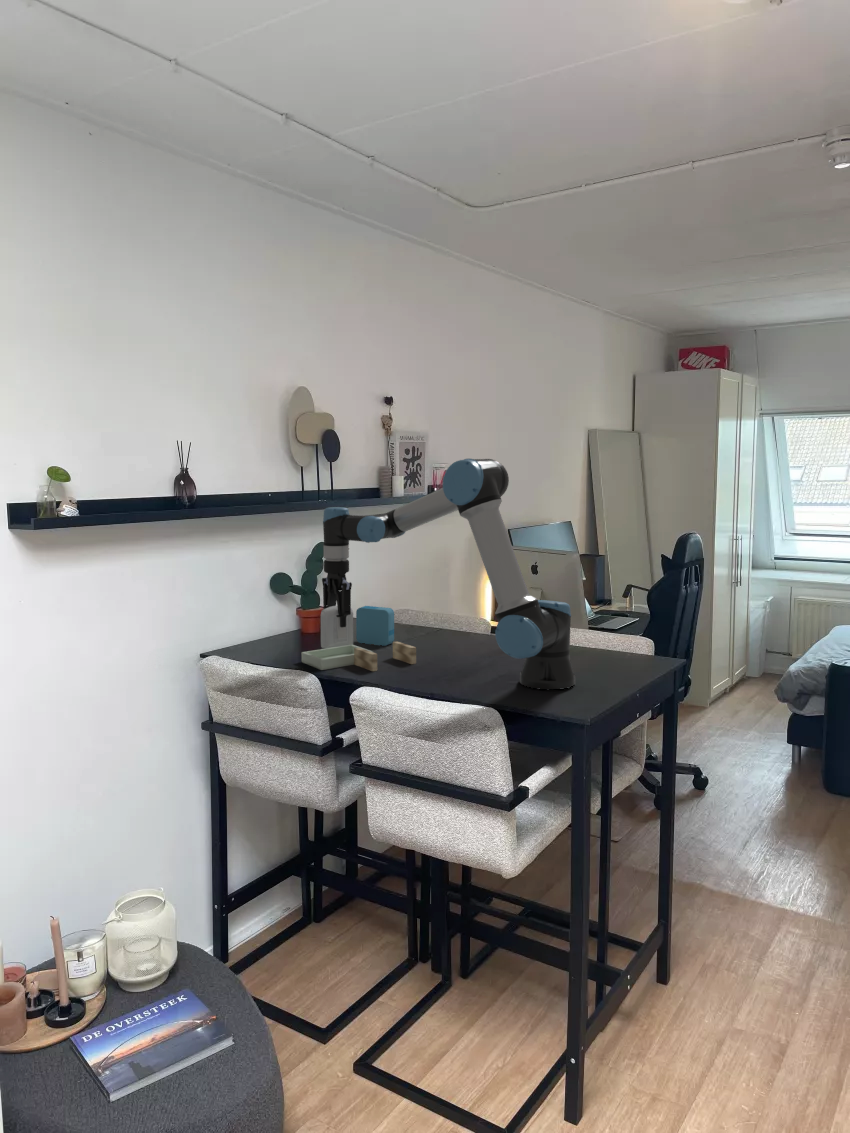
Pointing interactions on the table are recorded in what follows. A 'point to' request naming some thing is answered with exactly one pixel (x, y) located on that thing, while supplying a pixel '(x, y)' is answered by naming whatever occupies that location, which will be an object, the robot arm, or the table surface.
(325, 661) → the tray
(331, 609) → the grey rounded slab
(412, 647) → the pair of tan blocks
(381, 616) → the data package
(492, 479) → the robot arm
